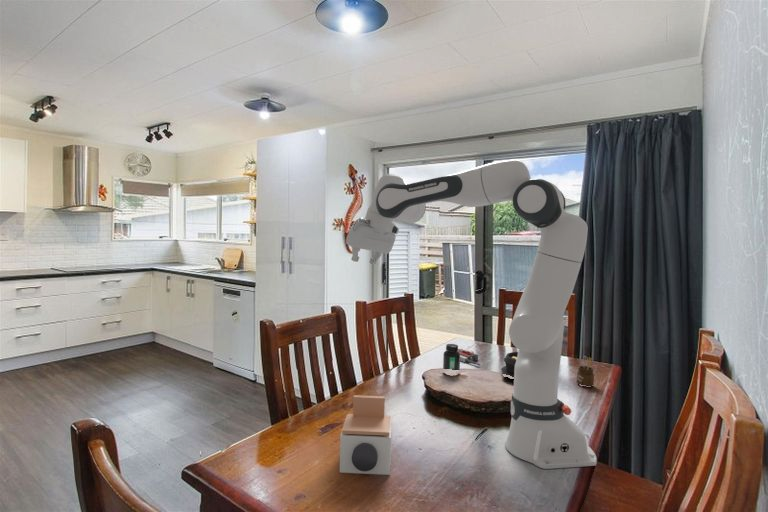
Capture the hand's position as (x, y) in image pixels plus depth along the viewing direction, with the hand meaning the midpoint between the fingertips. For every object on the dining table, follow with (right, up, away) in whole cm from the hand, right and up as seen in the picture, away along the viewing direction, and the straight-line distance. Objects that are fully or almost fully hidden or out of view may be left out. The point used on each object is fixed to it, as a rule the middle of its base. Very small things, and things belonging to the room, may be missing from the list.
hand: (363, 262), depth 136 cm
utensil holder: (+85, -49, +25) cm, 101 cm away
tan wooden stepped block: (+3, -40, -33) cm, 52 cm away
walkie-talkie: (+46, -47, +55) cm, 85 cm away
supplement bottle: (+35, -47, +36) cm, 68 cm away
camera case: (+2, -49, -33) cm, 59 cm away
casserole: (+65, -48, +34) cm, 87 cm away
